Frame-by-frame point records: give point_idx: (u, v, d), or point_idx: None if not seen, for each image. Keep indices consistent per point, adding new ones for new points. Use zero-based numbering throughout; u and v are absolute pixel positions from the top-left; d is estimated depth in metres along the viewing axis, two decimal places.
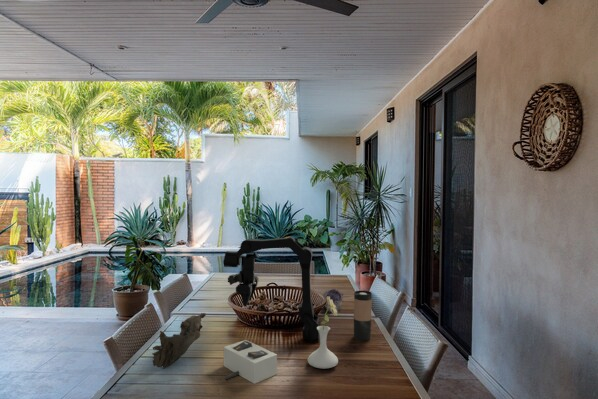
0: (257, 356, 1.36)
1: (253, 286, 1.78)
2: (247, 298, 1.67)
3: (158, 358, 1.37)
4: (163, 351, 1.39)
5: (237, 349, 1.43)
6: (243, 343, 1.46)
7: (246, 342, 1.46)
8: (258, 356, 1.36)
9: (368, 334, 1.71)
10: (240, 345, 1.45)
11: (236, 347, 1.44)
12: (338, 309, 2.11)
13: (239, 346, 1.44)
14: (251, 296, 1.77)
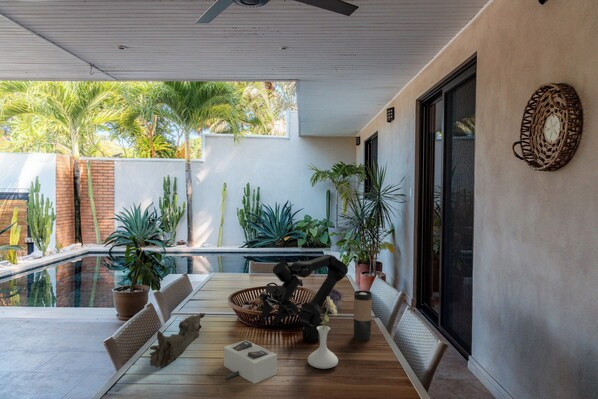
0: (257, 356, 1.36)
1: (271, 308, 1.59)
2: (281, 318, 1.52)
3: (155, 358, 1.37)
4: (161, 351, 1.39)
5: (237, 349, 1.43)
6: (243, 343, 1.46)
7: (246, 342, 1.46)
8: (258, 356, 1.36)
9: (368, 334, 1.71)
10: (240, 345, 1.45)
11: (236, 347, 1.44)
12: (338, 309, 2.11)
13: (239, 346, 1.44)
14: (265, 317, 1.56)
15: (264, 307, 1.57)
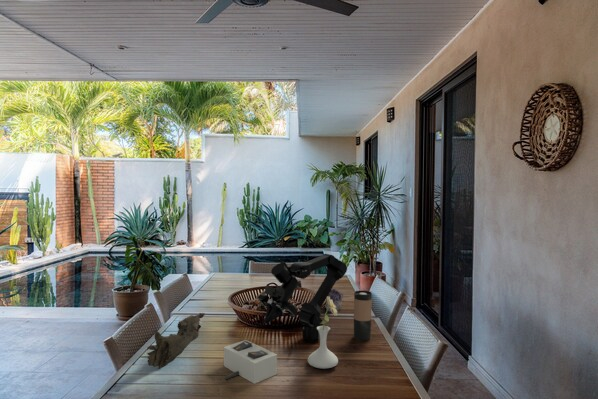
0: (257, 356, 1.36)
1: None
2: (274, 317, 1.54)
3: (153, 358, 1.37)
4: (158, 351, 1.39)
5: (237, 349, 1.43)
6: (243, 343, 1.46)
7: (246, 342, 1.46)
8: (258, 356, 1.36)
9: (368, 334, 1.71)
10: (240, 345, 1.45)
11: (236, 347, 1.44)
12: (338, 309, 2.11)
13: (239, 346, 1.44)
14: None
15: (268, 310, 1.54)
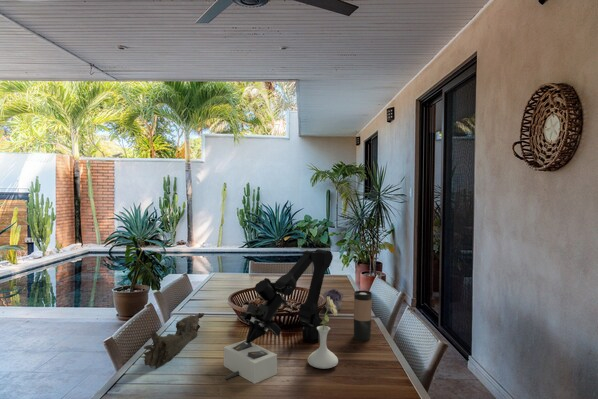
0: (257, 356, 1.36)
1: None
2: (257, 336, 1.48)
3: (150, 357, 1.38)
4: (155, 351, 1.40)
5: (237, 349, 1.43)
6: (243, 343, 1.46)
7: (246, 342, 1.46)
8: (258, 356, 1.36)
9: (368, 334, 1.71)
10: (240, 345, 1.45)
11: (236, 347, 1.44)
12: (338, 309, 2.11)
13: (239, 346, 1.44)
14: None
15: (250, 329, 1.49)
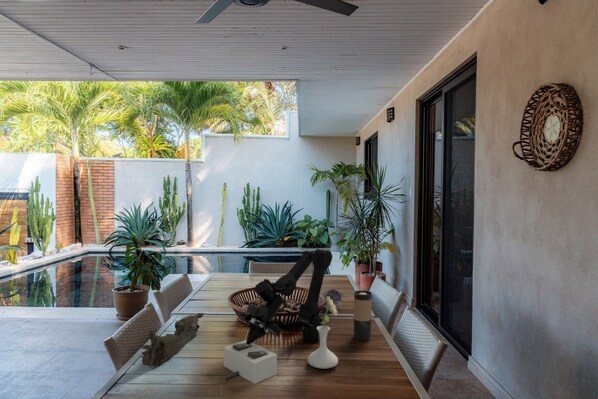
0: (257, 356, 1.36)
1: None
2: (257, 337, 1.48)
3: (148, 357, 1.38)
4: (153, 350, 1.40)
5: (237, 346, 1.43)
6: (243, 344, 1.46)
7: (246, 344, 1.47)
8: (258, 356, 1.36)
9: (368, 334, 1.71)
10: (240, 345, 1.45)
11: (236, 345, 1.44)
12: (337, 309, 2.11)
13: (240, 345, 1.44)
14: None
15: (250, 330, 1.49)
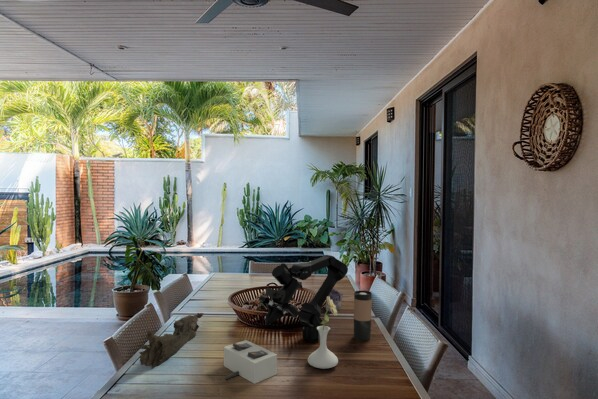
0: (257, 356, 1.36)
1: None
2: (276, 319, 1.54)
3: (146, 357, 1.38)
4: (151, 350, 1.40)
5: (238, 345, 1.43)
6: (243, 345, 1.46)
7: (246, 345, 1.47)
8: (258, 356, 1.36)
9: (368, 334, 1.71)
10: (241, 345, 1.45)
11: (237, 344, 1.44)
12: (337, 309, 2.11)
13: (240, 344, 1.44)
14: None
15: (269, 312, 1.55)
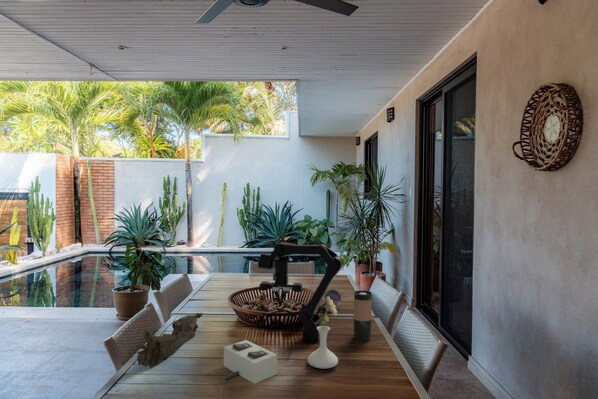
0: (257, 356, 1.36)
1: (282, 292, 1.74)
2: None
3: (143, 357, 1.38)
4: (149, 350, 1.40)
5: (238, 346, 1.43)
6: (243, 344, 1.46)
7: (246, 345, 1.47)
8: (258, 356, 1.36)
9: (368, 334, 1.71)
10: (241, 345, 1.45)
11: (237, 345, 1.44)
12: (337, 309, 2.11)
13: (240, 345, 1.44)
14: (280, 302, 1.75)
15: None
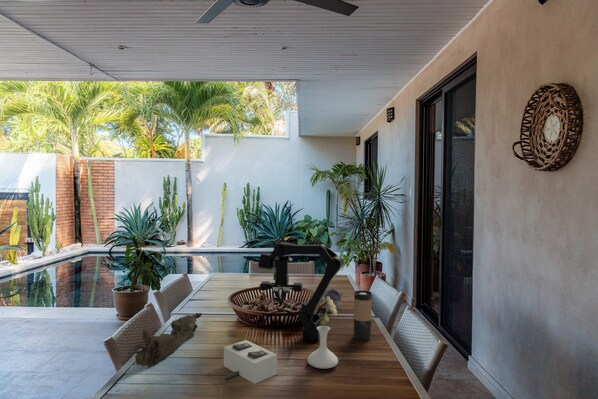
0: (257, 356, 1.36)
1: (282, 292, 1.74)
2: None
3: (142, 357, 1.38)
4: (147, 350, 1.40)
5: (237, 346, 1.43)
6: (243, 344, 1.46)
7: (246, 344, 1.47)
8: (258, 356, 1.36)
9: (368, 334, 1.71)
10: (240, 345, 1.45)
11: (236, 345, 1.44)
12: (337, 309, 2.11)
13: (240, 345, 1.44)
14: None
15: None
